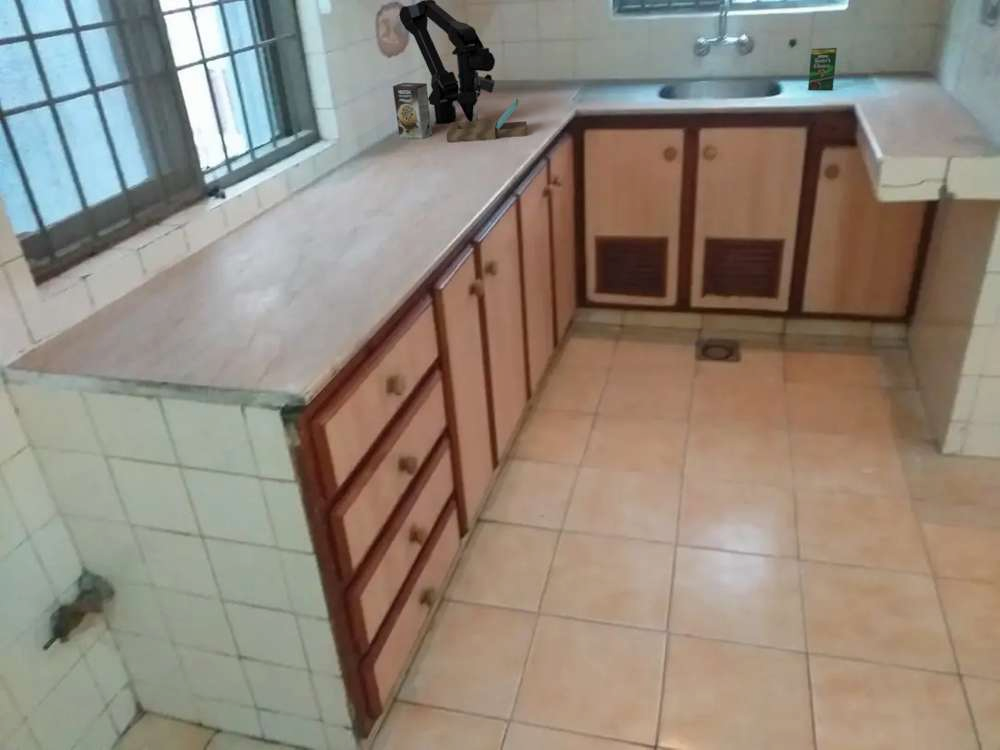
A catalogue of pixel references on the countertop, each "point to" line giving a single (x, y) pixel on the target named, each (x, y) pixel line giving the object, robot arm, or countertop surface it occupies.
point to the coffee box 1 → (412, 110)
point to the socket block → (484, 130)
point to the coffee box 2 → (822, 69)
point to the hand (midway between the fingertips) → (471, 119)
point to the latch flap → (507, 114)
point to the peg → (474, 113)
